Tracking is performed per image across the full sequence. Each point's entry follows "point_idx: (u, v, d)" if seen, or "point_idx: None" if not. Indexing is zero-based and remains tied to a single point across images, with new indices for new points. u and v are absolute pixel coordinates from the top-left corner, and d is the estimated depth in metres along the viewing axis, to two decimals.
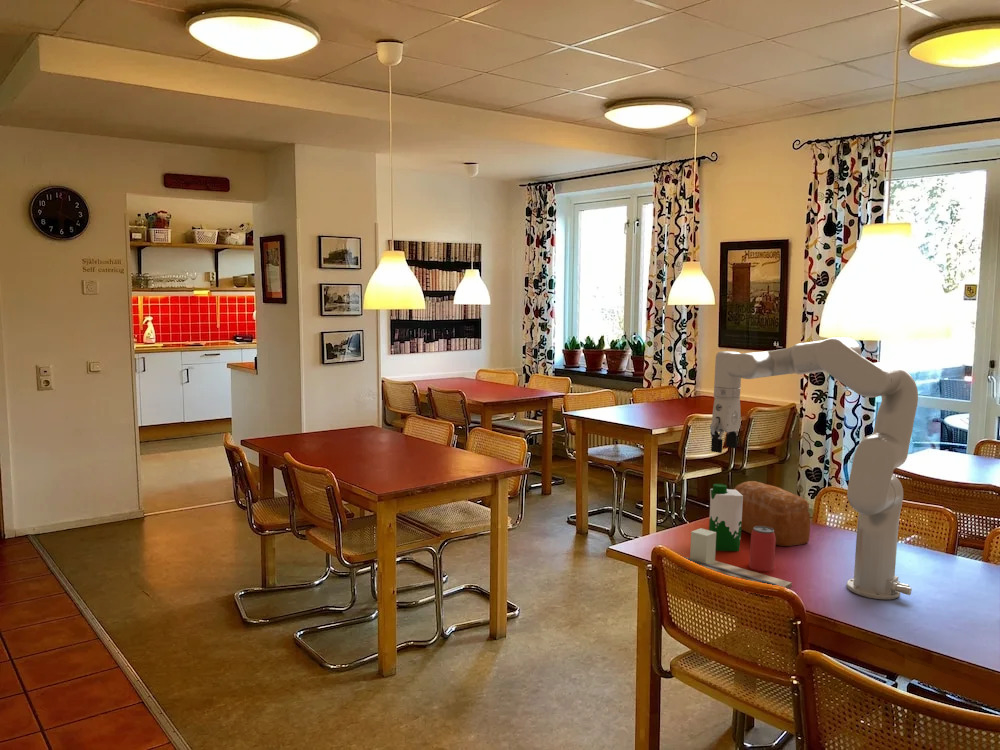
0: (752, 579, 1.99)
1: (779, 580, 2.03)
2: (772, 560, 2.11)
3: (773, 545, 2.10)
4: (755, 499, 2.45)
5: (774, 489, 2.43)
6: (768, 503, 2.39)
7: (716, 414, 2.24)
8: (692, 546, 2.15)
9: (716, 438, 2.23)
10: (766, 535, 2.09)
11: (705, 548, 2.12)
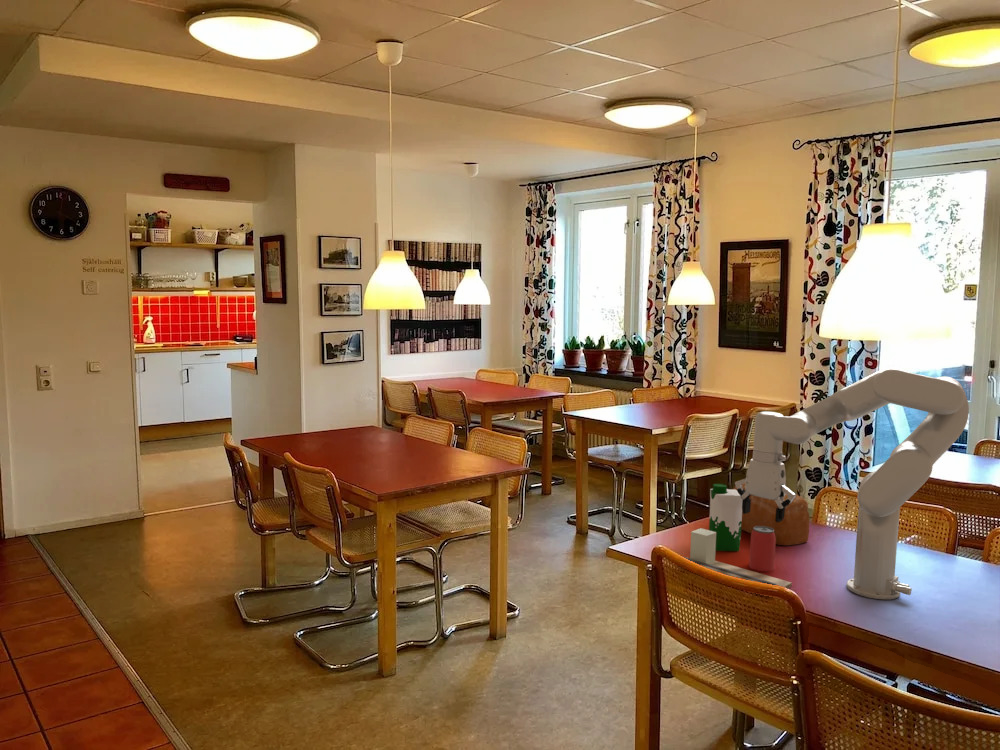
0: (752, 579, 1.99)
1: (779, 580, 2.03)
2: (772, 560, 2.11)
3: (773, 545, 2.10)
4: (754, 499, 2.45)
5: None
6: (767, 503, 2.40)
7: (781, 482, 2.07)
8: (692, 546, 2.15)
9: (785, 506, 2.08)
10: (766, 535, 2.09)
11: (705, 548, 2.12)
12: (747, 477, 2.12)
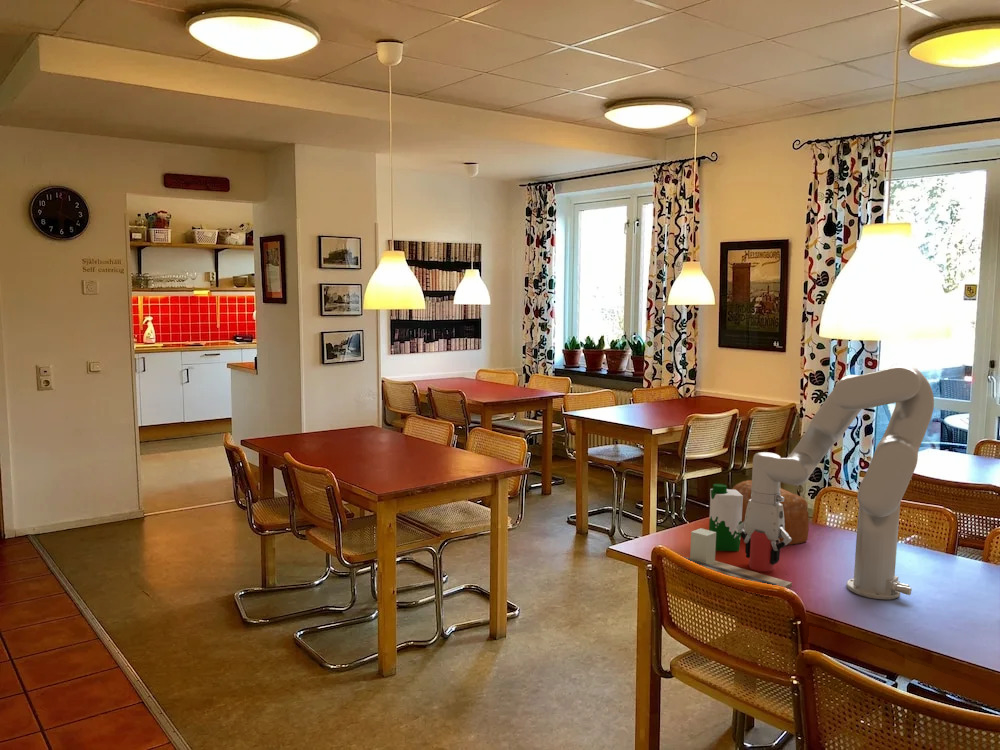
0: (752, 579, 1.99)
1: (779, 580, 2.03)
2: None
3: None
4: None
5: None
6: None
7: (780, 523, 2.08)
8: (692, 546, 2.15)
9: (779, 549, 2.10)
10: (765, 535, 2.09)
11: (705, 548, 2.12)
12: (746, 517, 2.13)
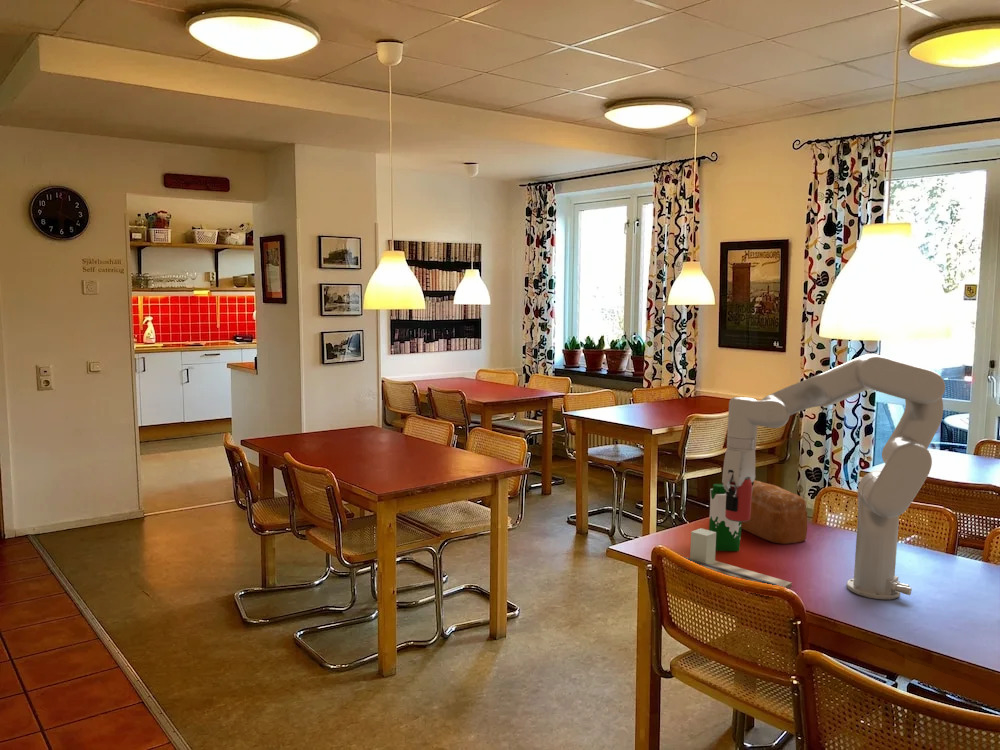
0: (752, 579, 1.99)
1: (779, 580, 2.03)
2: None
3: None
4: (753, 498, 2.47)
5: (772, 487, 2.45)
6: (765, 502, 2.41)
7: None
8: (692, 546, 2.15)
9: None
10: (750, 479, 2.06)
11: (705, 548, 2.12)
12: (739, 470, 2.01)
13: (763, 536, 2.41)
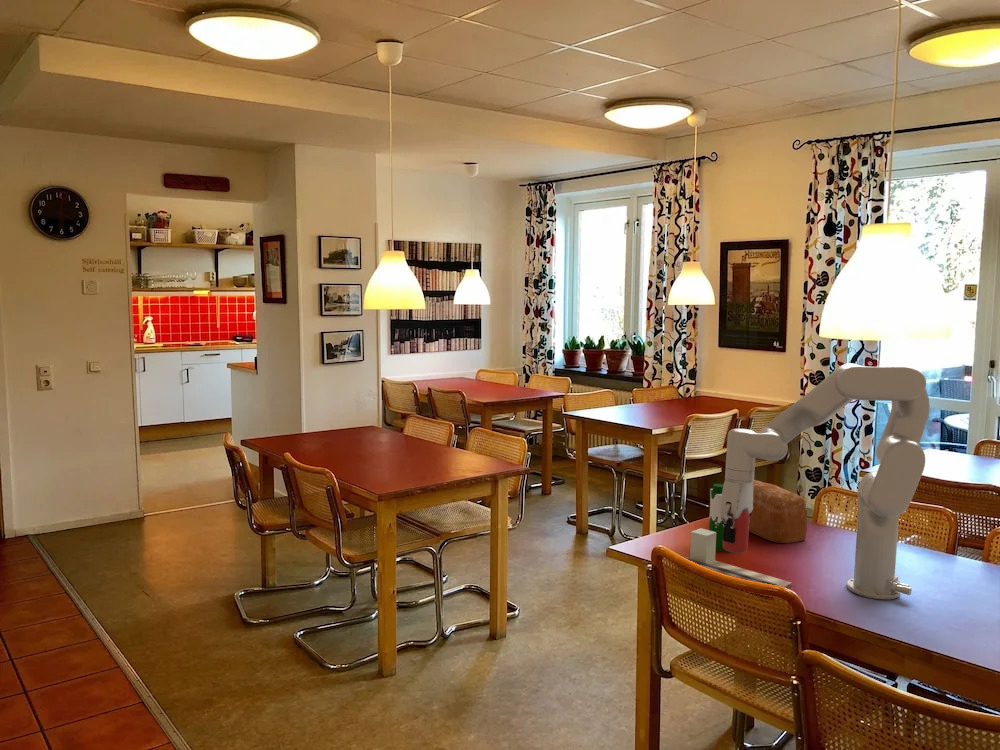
0: (752, 579, 1.99)
1: (779, 580, 2.03)
2: None
3: None
4: (753, 497, 2.47)
5: (771, 487, 2.46)
6: (765, 501, 2.42)
7: None
8: (692, 546, 2.15)
9: None
10: (748, 511, 2.07)
11: (705, 548, 2.12)
12: (737, 502, 2.02)
13: (763, 535, 2.42)
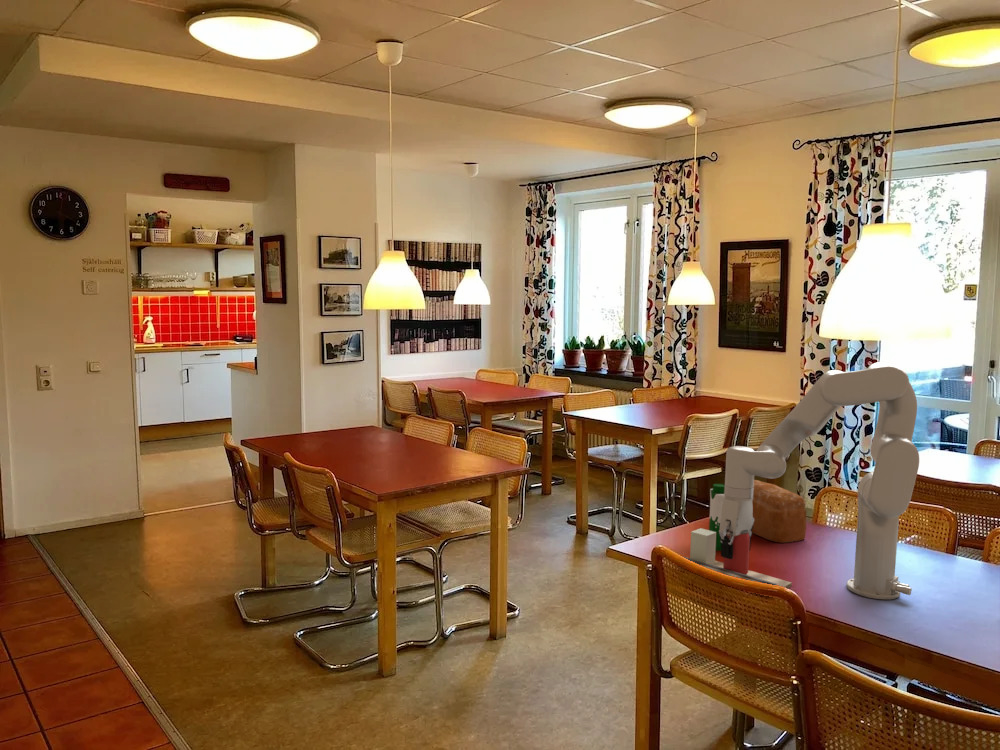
0: (752, 579, 1.99)
1: (779, 580, 2.03)
2: None
3: None
4: None
5: (771, 487, 2.46)
6: (765, 501, 2.42)
7: None
8: (692, 546, 2.15)
9: None
10: None
11: (705, 548, 2.12)
12: (737, 519, 2.03)
13: (762, 535, 2.42)
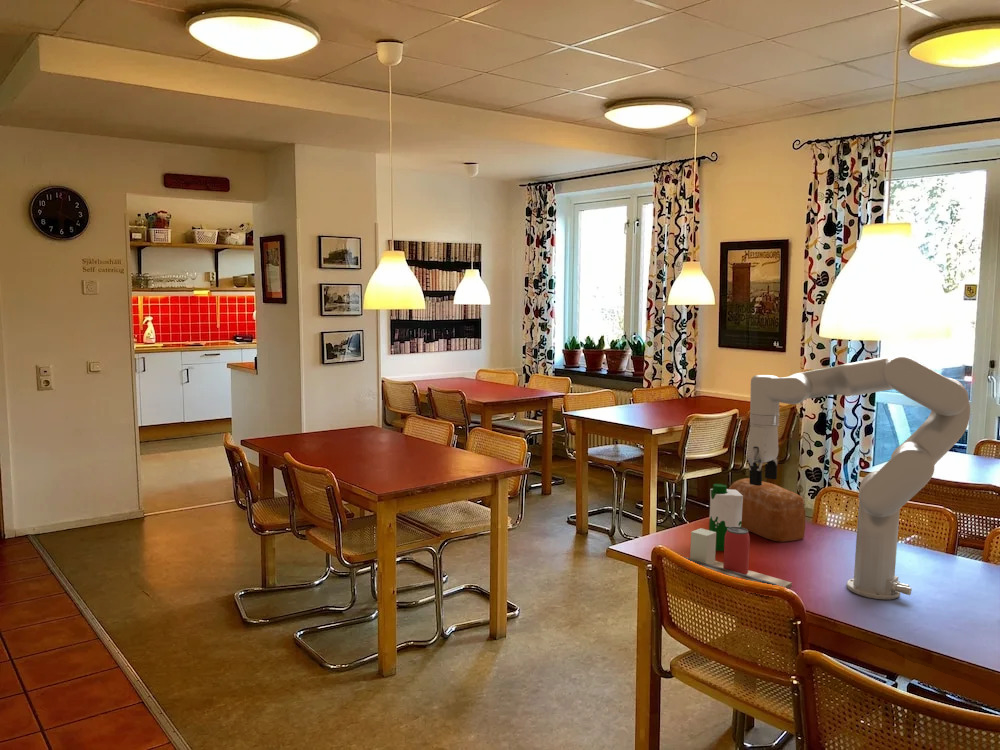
0: (752, 579, 1.99)
1: (779, 580, 2.03)
2: None
3: None
4: (751, 496, 2.49)
5: (770, 486, 2.47)
6: (764, 500, 2.43)
7: None
8: (692, 546, 2.15)
9: None
10: None
11: (705, 548, 2.12)
12: (764, 446, 2.05)
13: (762, 534, 2.43)
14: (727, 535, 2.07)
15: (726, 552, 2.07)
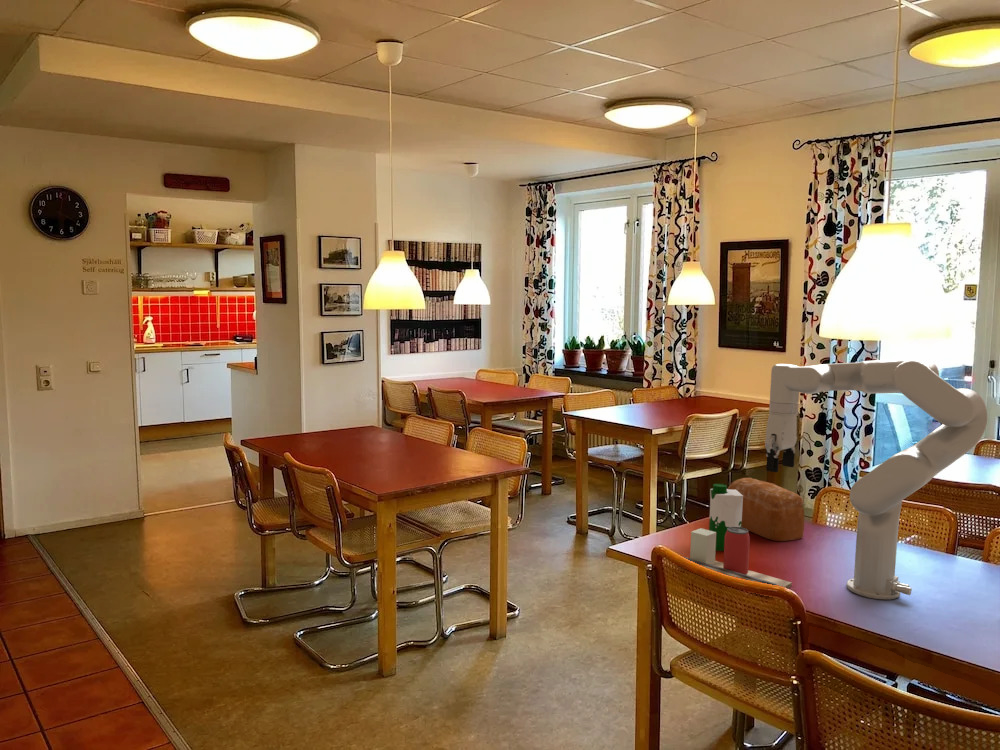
0: (752, 579, 1.99)
1: (779, 580, 2.03)
2: None
3: None
4: (750, 495, 2.49)
5: (769, 485, 2.48)
6: (763, 499, 2.44)
7: None
8: (692, 546, 2.15)
9: None
10: None
11: (705, 548, 2.12)
12: (782, 433, 2.09)
13: (761, 533, 2.44)
14: (727, 535, 2.07)
15: (726, 552, 2.07)
